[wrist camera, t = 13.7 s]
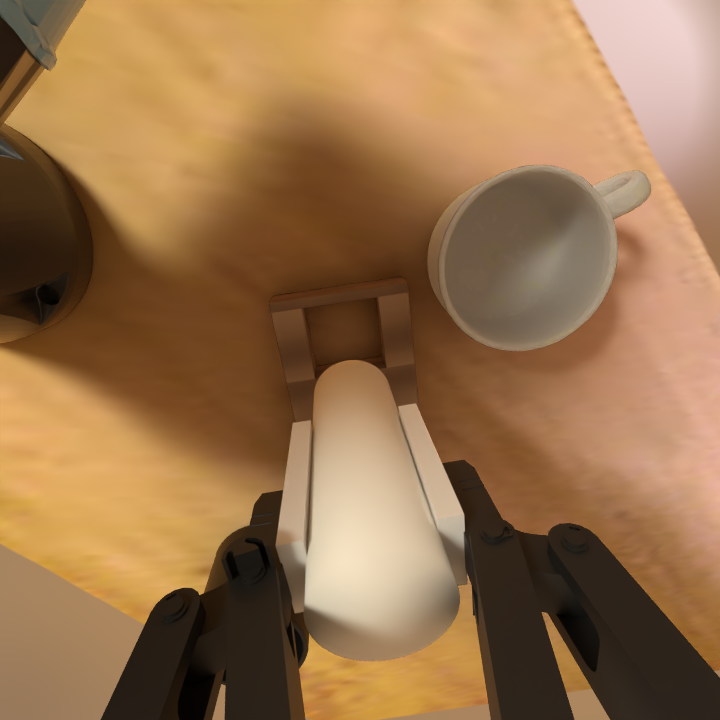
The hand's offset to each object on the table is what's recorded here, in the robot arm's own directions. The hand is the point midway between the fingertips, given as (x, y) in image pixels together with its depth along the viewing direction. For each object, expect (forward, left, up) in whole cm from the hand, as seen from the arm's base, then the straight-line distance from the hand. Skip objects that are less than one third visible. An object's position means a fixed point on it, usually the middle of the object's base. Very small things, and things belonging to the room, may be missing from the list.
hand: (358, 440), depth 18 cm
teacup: (-5, +13, -17) cm, 22 cm away
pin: (0, 0, -4) cm, 4 cm away
